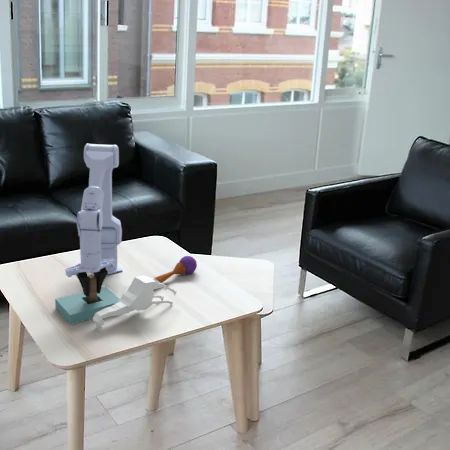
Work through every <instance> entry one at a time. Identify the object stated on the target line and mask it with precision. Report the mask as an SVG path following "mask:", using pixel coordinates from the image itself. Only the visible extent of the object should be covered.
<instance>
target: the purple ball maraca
mask: <svg viewBox="0 0 450 450" xmlns="http://www.w3.org/2000/svg"><path fill="white" fill-rule="evenodd" d="M197 263H198V262H197V260H196V259H195V258H194V257H193V256H190V255H185V256H183V257H182V258H180V259H179V261H178V262H177V263H176V264H175V266H174V268H173V270H171V271H169V272H167V273H164V274H161V275H158V276H156V277H153V278H154V279H156V280H158V281H159V282H160V283H163V284H164V282H165V281H167V280H168V279H170V278H171V277H173V276H174V275H191V274H193V273H194V272H195V271H196V269H197V267H198V266H197V265H198V264H197Z"/></svg>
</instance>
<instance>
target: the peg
mask: <svg viewBox="0 0 450 450" xmlns="http://www.w3.org/2000/svg"><path fill="white" fill-rule="evenodd" d="M88 276H89V277H90V279H89V296H87V304H92V303H95V302H97V277H96V276H94V274H93V275H92V274H91V275H88Z"/></svg>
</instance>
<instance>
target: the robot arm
mask: <svg viewBox="0 0 450 450" xmlns="http://www.w3.org/2000/svg"><path fill="white" fill-rule="evenodd" d="M119 149H120V148H119V146H118V145H117V144H96V143H86V144H85V145H84V148H83V160H84V163H85V166H86V167H87V168H88V169H89V175H88V176H89V177H88V187H86V188H85V189H84V190H83V195H82V202H81V206H80V210H79V211H77V215H76V228H77V232H78V233H77V235H78V237H79V246H80V247H79V250H80V251H79V252H80V253H79V254H80V263H77V264H74V265H72V266H70V267H66V268H65V276H67V278H72V276H76V277H77V279H78V281H79V283H80V286H81V288H82V292H83V293H84V295H85V296H89V279H90V277H89V276H90V275H88V273H89V272H92V273H93V275H94V276H96V277H97V293H98V294H99V293H100V291H101V287H103V283H104V281H105V280H106V277H107V276H108V275H111V274H116V273H120V272H123V268H121V267H120V266H119V265H118V245H119V246H120V244H121V243H122V239H123V238H122V237H123V228H122V223H121V220H120V219H118V218H117V217H116V216H114V215H113V178H112V177H113V170H114V169H115V168H118V167H119V165H120V150H119Z"/></svg>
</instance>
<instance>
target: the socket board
mask: <svg viewBox="0 0 450 450" xmlns="http://www.w3.org/2000/svg"><path fill="white" fill-rule="evenodd" d="M119 299H120V298H119V296H118V295H116V294H115V293H114V292H113V291H112V290H111V289H110V288H108V287H107V286H102V287H101V291H100V293H99V294H98V293H97V302H95V303H92V304H87V296H85V295H84V293H83V291H82V292H81V291H80V292H77V293H73V294H69V295H65V296H62V297H61V296H60V297H57V298H54V302H55V303H54V304H55V309H56V310H57V311H58V312H59V314H60V315H61V316H62V317H63V318H64V319H65V320H66V321H67V322H68V324H69V325H74V324H78V323H82V322H85V321H88V320H93V317H94V315H95V313H96V312H98V311H101V310H102V309H104V308H107V307H110V306H112V305H115V304H116V303H118V302H120V301H118V300H119Z"/></svg>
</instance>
